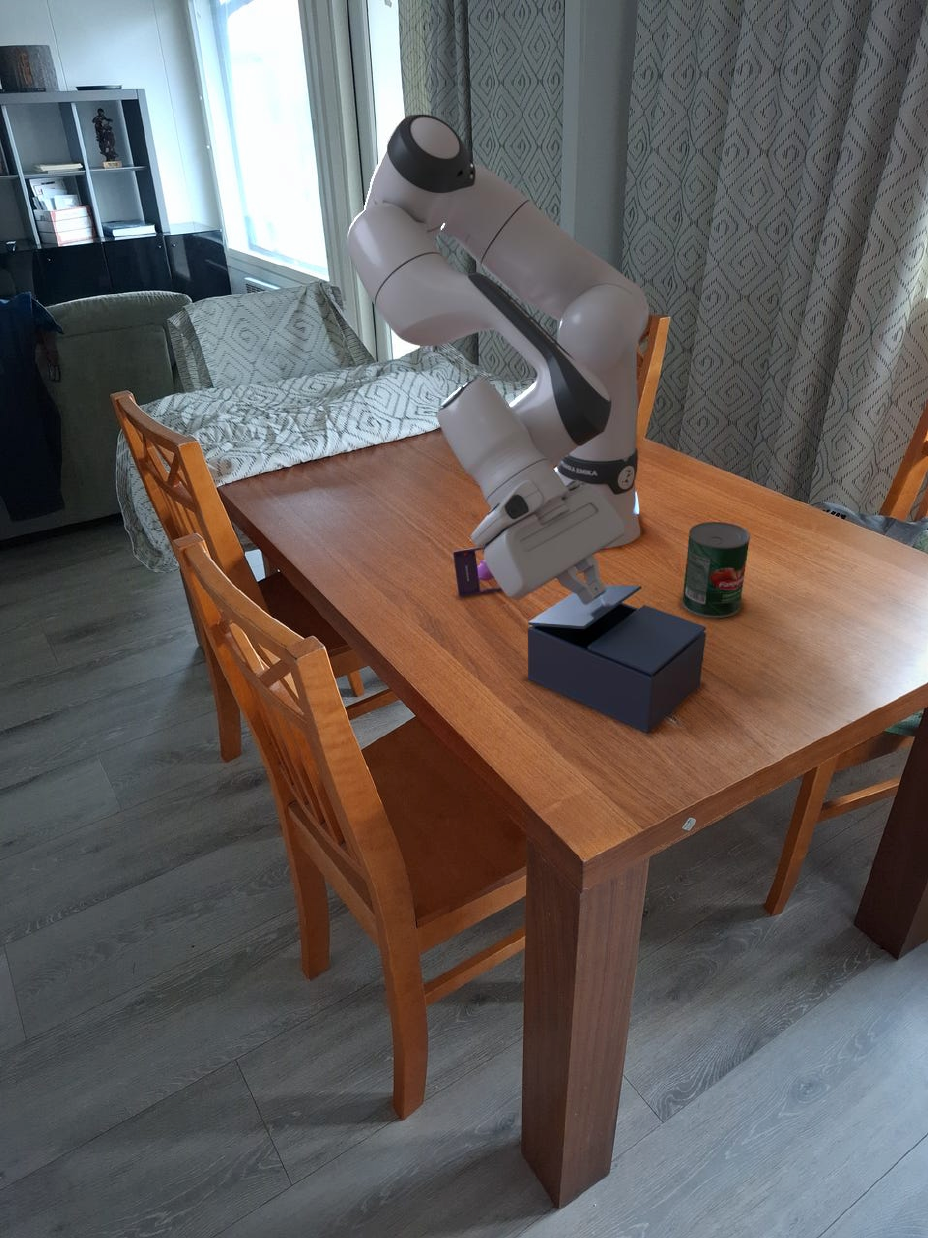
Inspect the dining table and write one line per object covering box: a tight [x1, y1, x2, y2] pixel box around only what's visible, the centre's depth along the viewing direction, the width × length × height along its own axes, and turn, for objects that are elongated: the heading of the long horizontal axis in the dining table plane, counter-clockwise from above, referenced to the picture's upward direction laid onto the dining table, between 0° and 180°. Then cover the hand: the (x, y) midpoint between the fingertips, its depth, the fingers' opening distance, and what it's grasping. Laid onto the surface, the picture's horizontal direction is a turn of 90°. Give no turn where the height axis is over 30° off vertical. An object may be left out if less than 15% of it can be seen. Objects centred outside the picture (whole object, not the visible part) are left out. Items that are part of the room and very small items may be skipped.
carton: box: [527, 602, 707, 734], centre depth 99 cm, size 17×12×8 cm
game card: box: [452, 547, 503, 598], centre depth 123 cm, size 7×5×9 cm
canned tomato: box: [681, 521, 751, 619], centre depth 113 cm, size 8×8×11 cm
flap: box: [527, 584, 642, 629], centre depth 99 cm, size 8×12×1 cm
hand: (596, 598), depth 97 cm, fingers closed
